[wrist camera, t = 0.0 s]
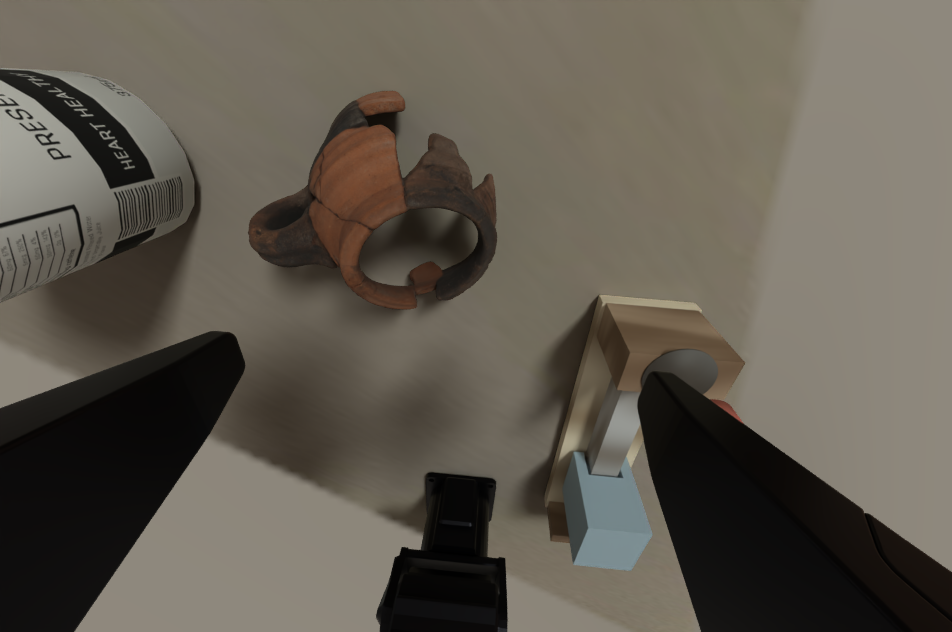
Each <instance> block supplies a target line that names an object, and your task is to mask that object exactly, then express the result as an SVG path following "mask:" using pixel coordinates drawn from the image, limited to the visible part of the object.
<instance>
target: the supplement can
mask: <svg viewBox="0 0 952 632" xmlns="http://www.w3.org/2000/svg"><path fill="white" fill-rule="evenodd" d="M193 206H194V178H193V175H192V172H191V169H190V166H189V163H188V160H187V157H186V154H185V152H184V150H183V149H182V147H181V146H180V144H179V143H178V141H177V140H176V138H175V137H174V135H173V134H172V132H171V130H170V129H169V128H168V126H167V125H166V123H164V122H163V121H162V120H161V119H160V118H159V117H158V116H157V115H156V114H155V113H154V112H153V111H152V110H151V109H150V108H149V107H148V106H147V105H146V104H145V103H144V102H143V101H142V100H141V99H140V98H138V97H137V96H135V95H133V94H132V93H130V92H128V91H127V90H125V89H123V88H122V87H120V86H118V85H117V84H115V83H113V82H112V81H110V80H108V79H104V78H100V77H96V76H93V75H89V74H85V73H81V72H70V71H50V70H31V69H11V68H0V303H1V302H3V301H6V300H8V299H11V298H13V297H15V296H18V295H20V294H23V293H25V292H27V291H30V290H32V289H35V288H37V287H39V286H42V285H44V284H47V283H49V282H52V281H54V280H56V279H59V278H61V277H64V276H66V275H68V274H71V273H73V272H76V271H78V270H80V269H83V268H85V267H88V266H90V265H92V264H95V263H97V262H100V261H102V260H105V259H107V258H109V257H112V256H114V255H117V254H119V253H121V252H124V251H126V250H129V249H131V248H133V247H136V246H138V245H141V244H143V243H145V242H148V241H150V240H153V239H155V238H158V237H160V236H162V235H165V234H167V233H170V232H171V231H173V230H175V229H176V228H178V227H179V226H181V225H182V224H184V223H185V222H186V221H187V219H188V217H189V215H190V213H191V211H192V208H193Z"/></svg>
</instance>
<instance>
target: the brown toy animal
mask: <svg viewBox="0 0 952 632" xmlns="http://www.w3.org/2000/svg"><path fill="white" fill-rule="evenodd" d="M404 109H405V101H404V99H403V97H401V95H400V94H399V93H398V92H396V91H381V92H376V93H371V94H368V95H366V96H363V97H361V98H359V99H357V100H355V101H353V102H351V103H350V104H349V105H347V106H346V107H345V108H344V109H343V110H342V111H341V112H340V113H339V114H338V115H337V117H336V118H335V120H334V122H333V123H332V125H331V128H330V130H329V133H328V135H327V137H326V139H325V141H324V143H323V144H322V146H321V148H320V150H319V152H318V154H317V156H316V157H315V159H314V162H313V164H312V167H311V170H310V175H309V180H308V185H307V186H306V187H305V188H304V189H302V190H301V191H299V192H298V193H296V194H294V195H291V196H287V197H285V198H282V199H280V200H277V201H275V202H273V203H271V204H269V205H267V206H266V207H264V208H263V209H261V210H260V211H258V212H257V213H256V214H255V215H254V216H253V217H252V218H251V220H250V223H249V231H248V234H249V242H250V245H251V247H252V248H253V249H254V250H255V251H256V252H258V254H259V255H260V256H261V257H262V258H263V259H264V260H266V261H268V262H270V263H272V264H275V265H278V266H282V267H298V266H303V265H310V264H319V265H324V266H327V267H330V268H336V267H337V266H338V267H340V268H341V273H342V276H343V278H344V280H345V282H346V284H347V285H348V286H349V287H350V288H351V289H352V290H353V291H354V292H355V293H356V294H357V295H358V296H360V297H362V298H363V299H365V300H367V301H368V302H370V303H373V304H375V305H378V306H384V307H386V308H392V309H414V308H416V307H417V299H416V295H418V294H424V293H428V292H430V291H433V290H436V297H437V299H438V300H450V299H453V298H454V297H456V296H458V295H460V294H461V293H463V292H464V291H465V290H467V289H468V288H470V287H471V286H472V285H474V284H475V283H476V282H477V281H478V280H479V279H480V278H481V277H482V275H483V274H484V272H485V271H486V269H487V268H488V264H489V263H490V262H491V261H492V258H493V256H494V254H495V249H496V243H497V232H496V229H495V224H496V197H495V186H494V181H493V176H492V175H491V174H487V175H486V176H485V179H484V181H483V182H482V184H480V185H479V186H477V187H476V188H475V189H474V190H473V189H472V176H471V174H470V171H469V167H468V166H467V164H466V162H465V161H464V160H463V159H462V158H461V157H460V155H459V153H458V149H457V146H456V144H455V143H454V142H453V141H452V140H450V139H448V138H446V137H444V136H442V135H440V134H436V133H432V134H431V135H430V136H429V139H428V151H427V152H426V153H425V154H424V155H423V156H422V157H421V159H420V161H419V162H418V164H417V165H416V166H415V168H414V169H413V170H412V171H410V172H409V174H408V175H407V176H406V177H405V178H402V175H401V171H400V166H399V162H398V157H397V150H396V137H395V134H394V133H392V132H391V131H390V130H389V129H388V128H387V127H385V126H383V125H375V126H371V127H369V126H368V123H367V121H366V119H364V118H365V117H367V116H371V115H375V114H380V113H388V112H402V111H404ZM422 208H443V209H447V210H451V211H454V212H458V213H460V214H462V215H464V216H466V217H467V218H468V219H470V220H472V222H473V223H474V224H475V226H476V228H477V231H478V242H477V244H476V247H475V249H474V251H473V252H472V253H471V254H470V255H469V256H468V257H467V258H466V259H465V260H463V261H462V262H460V263H458V264H456V265H454V266H452V267H450V268H447V269H445V270H441V268H440V267H439V266H437V265H436V264H435V263H434V262H426V263H424V264H422V265H419V266H418V267H416V268H414V269H413V270H412V271H410V279H411V281H413V283H414V285H410V286H392V285H387V284H381V283H378V282H375V281H373V280H371V279H369V278H368V277H367V276H366V275H365V274H364V273H363V272H362V271H361V269H360V266H359V255H360V251H361V249H362V247H363V244H364V243H365V241H366V239H367V238H368V237H369V236H370V235H371V233H372V232H373V230H375V229H377V228H378V227H379V226H380V225H382V224H383V223H384V222H386V221H388V220H390V219H391V218H393V217H396V216H398V215H400V214H402V213H405V212H407V211H408V210H410V209H422Z"/></svg>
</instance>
